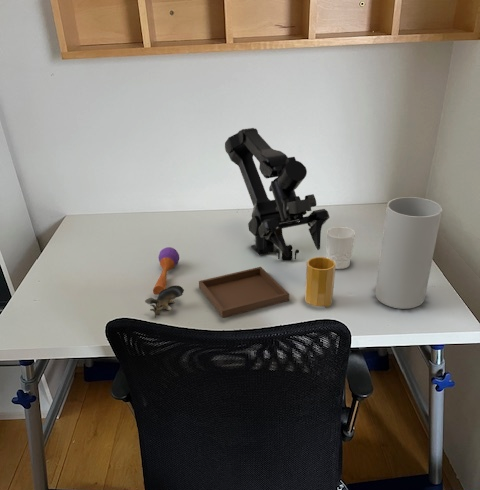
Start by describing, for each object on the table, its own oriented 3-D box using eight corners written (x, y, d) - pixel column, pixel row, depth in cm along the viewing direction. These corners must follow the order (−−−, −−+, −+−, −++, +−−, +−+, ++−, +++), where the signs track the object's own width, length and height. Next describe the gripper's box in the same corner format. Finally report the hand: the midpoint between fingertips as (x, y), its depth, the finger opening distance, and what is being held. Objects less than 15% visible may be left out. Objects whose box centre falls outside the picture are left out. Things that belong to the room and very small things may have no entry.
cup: (300, 304, 138) (302, 266, 132) (310, 292, 143) (313, 254, 137) (326, 311, 135) (329, 272, 129) (335, 298, 140) (339, 260, 134)
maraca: (145, 283, 141) (157, 245, 156) (152, 301, 144) (163, 262, 160) (166, 280, 140) (177, 241, 155) (173, 298, 143) (182, 259, 159)
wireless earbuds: (275, 261, 158) (275, 245, 156) (275, 257, 161) (275, 242, 158) (298, 261, 158) (299, 246, 155) (298, 257, 160) (299, 242, 157)
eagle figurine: (173, 318, 132) (191, 296, 137) (155, 297, 129) (173, 274, 135) (155, 325, 137) (172, 302, 143) (137, 304, 134) (155, 282, 140)
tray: (199, 290, 145) (198, 281, 144) (260, 275, 152) (260, 266, 150) (222, 320, 133) (222, 311, 131) (288, 303, 139) (289, 293, 137)
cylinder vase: (366, 289, 144) (377, 200, 130) (407, 282, 146) (423, 194, 133) (389, 313, 134) (404, 220, 120) (433, 305, 136) (453, 213, 123)
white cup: (351, 271, 152) (354, 239, 147) (323, 269, 154) (325, 237, 148) (352, 258, 159) (355, 227, 153) (325, 256, 160) (327, 225, 155)
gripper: (263, 190, 133) (281, 248, 130) (328, 179, 138) (347, 234, 136) (250, 209, 143) (267, 263, 141) (312, 198, 149) (329, 250, 147)
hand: (303, 252), depth 141 cm, fingers open, 9 cm apart
